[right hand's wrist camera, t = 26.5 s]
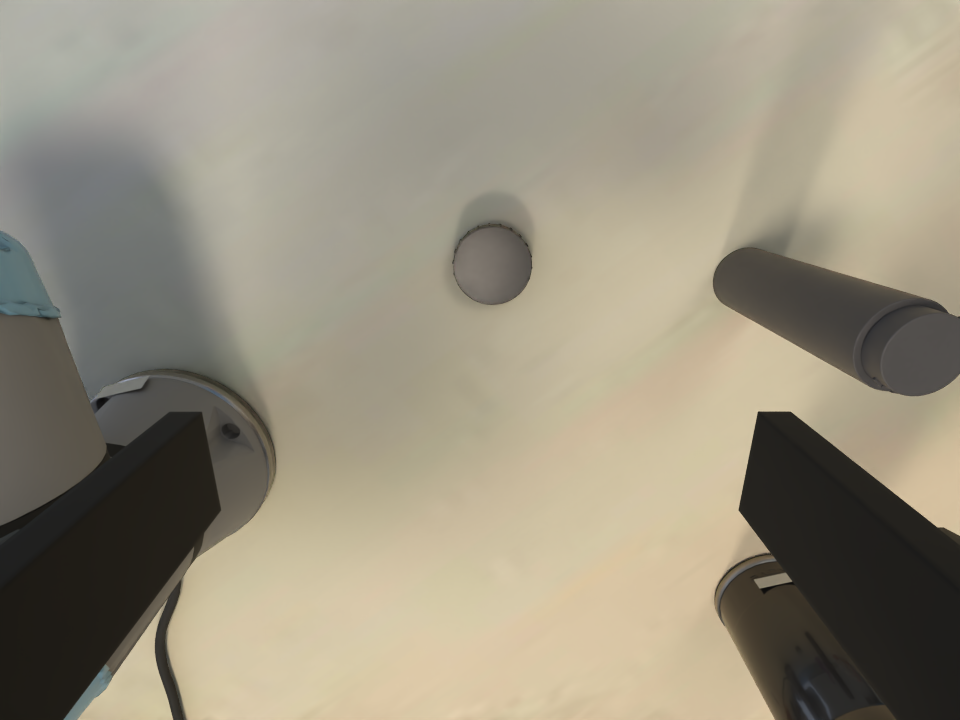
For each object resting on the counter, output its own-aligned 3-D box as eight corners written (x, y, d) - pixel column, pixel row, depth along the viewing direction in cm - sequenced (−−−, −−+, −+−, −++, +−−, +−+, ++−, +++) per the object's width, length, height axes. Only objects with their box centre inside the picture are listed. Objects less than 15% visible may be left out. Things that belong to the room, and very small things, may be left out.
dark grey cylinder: (739, 320, 40) (911, 422, 24) (700, 281, 39) (851, 361, 23) (787, 275, 39) (1001, 350, 23) (748, 234, 38) (942, 283, 22)
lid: (499, 206, 38) (500, 208, 36) (545, 270, 39) (548, 274, 38) (437, 255, 39) (436, 258, 37) (484, 315, 40) (485, 321, 39)
